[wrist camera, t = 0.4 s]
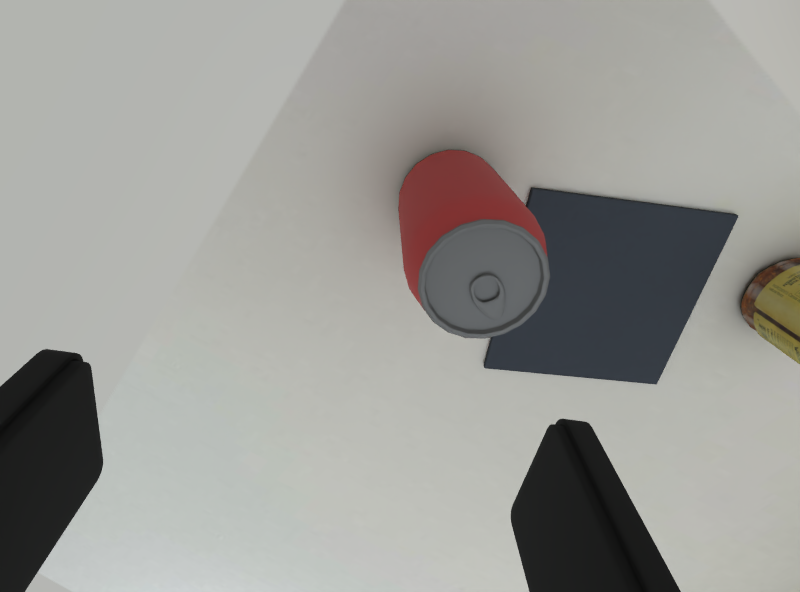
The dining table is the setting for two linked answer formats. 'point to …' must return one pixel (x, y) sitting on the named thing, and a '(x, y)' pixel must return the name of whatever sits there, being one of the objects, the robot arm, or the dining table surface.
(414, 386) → the dining table surface
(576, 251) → the mat
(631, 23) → the dining table surface
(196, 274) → the dining table surface
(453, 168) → the beer can
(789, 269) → the sauce bottle
